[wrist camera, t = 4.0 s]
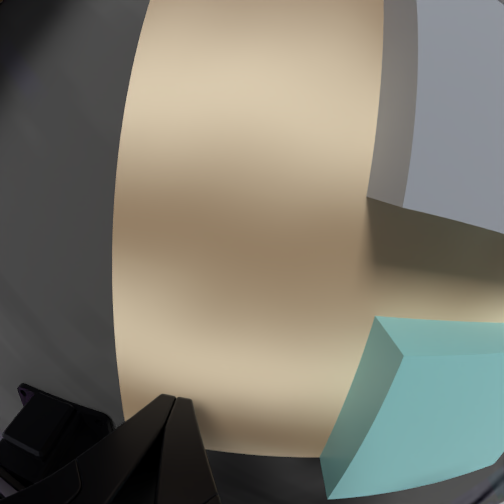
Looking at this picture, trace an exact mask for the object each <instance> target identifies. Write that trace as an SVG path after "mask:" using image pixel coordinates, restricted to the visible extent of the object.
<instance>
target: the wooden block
mask: <svg viewBox="0 0 504 504" xmlns="http://www.w3.org/2000/svg"><path fill="white" fill-rule="evenodd" d="M383 22H384V0H150V3H149V6H148V9H147V13H146V16H145V20H144V23H143V27H142V31H141V34H140V38H139V42H138V46H137V50H136V55H135V59H134V64H133V68H132V73H131V78H130V83H129V88H128V93H127V99H126V105H125V111H124V117H123V124H122V131H121V138H120V146H119V154H118V163H117V173H116V185H115V198H114V215H113V243H112V287H113V314H114V331H115V344H116V356H117V366H118V375H119V383H120V391H121V398H122V405H123V412H124V418H125V421H127V420H128V419H129V418H131V417H132V416H133V415H135V414H136V413H137V412H138V411H140V410H141V409H142V408H144V407H145V406H146V405H147V404H149V403H150V402H151V401H152V400H154V399H155V398H156V397H157V396H159V395H160V394H168V395H173V396H175V397H176V398H177V397H184V398H190V399H192V401H193V405H194V409H195V413H196V417H197V421H198V425H199V428H200V432H201V436H202V440H203V443H204V447H205V449H208V450H215V451H222V452H231V453H240V454H250V455H263V456H279V457H320V455H321V453H322V451H323V449H324V447H325V445H326V443H327V441H328V438H329V436H330V434H331V432H332V430H333V427H334V425H335V423H336V421H337V418H338V416H339V414H340V411H341V409H342V406H343V404H344V402H345V399H346V397H347V394H348V392H349V389H350V387H351V384H352V381H353V379H354V376H355V373H356V371H357V368H358V365H359V363H360V360H361V357H362V354H363V351H364V348H365V345H366V342H367V339H368V336H369V333H370V330H371V327H372V324H373V321H374V317H375V316H383V317H396V318H410V319H425V320H443V321H463V322H492V323H504V234H503V233H499V232H496V231H492V230H489V229H485V228H482V227H478V226H475V225H471V224H467V223H464V222H460V221H456V220H452V219H448V218H444V217H440V216H436V215H432V214H428V213H424V212H420V211H415V210H411V209H407V208H402V207H399V206H396V205H393V204H389V203H386V202H383V201H379V200H376V199H373V198H369V197H366V195H367V190H368V184H369V177H370V171H371V164H372V157H373V150H374V142H375V135H376V126H377V117H378V107H379V97H380V85H381V71H382V53H383Z"/></svg>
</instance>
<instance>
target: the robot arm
mask: <svg viewBox="0 0 504 504" xmlns="http://www.w3.org/2000/svg"><path fill="white" fill-rule="evenodd" d="M17 389H18V393H19V395H20V398H21V401H22V403H23V406H24V407H23V408H22V409H21V411H20V412H19V413H18V414H17V416H16V417H15V418H14V419H13V421H12V422H11V423H10V424H9V426H8V427H7V428H6V429H5V431H4V432H3V434H2V436H3V438H2V440H1V441H0V504H222V502H221V499H220V496H218V491H217V487H216V484H215V481H214V478H213V475H212V471H211V468H210V464H209V461H208V458H207V454H206V451H205V447H204V443H203V440H202V436H201V432H200V428H199V425H198V421H197V417H196V413H195V409H194V405H193V401H192V399H190V398H184V397H177V398H176V397H175V396H173V395H168V394H160V395H159V396H157V397H156V398H155V399H154V400H152V401H151V402H150V403H149V404H147V405H146V406H145V407H144V408H142V409H141V410H140V411H138V412H137V413H136V414H135V415H133V416H132V417H131V418H129V419H128V420H127V421H125V422H124V423H123V424H122V425H120V426H119V427H118V428H116V429H115V430H114V431H112V429H111V424H110V420H109V418H108V417H107V416H106V415H105V414H103V413H101V412H98V411H95V410H92V409H88V408H85V407H83V406H80V405H77V404H74V403H71V402H68V401H66V400H63V399H60V398H58V397H55V396H53V395H50V394H48V393H45V392H43V391H40V390H38V389H36V388H33V387H31V386H29V385H26V384H24V383H22V384H20V385H19V387H18V388H17Z"/></svg>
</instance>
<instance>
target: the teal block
mask: <svg viewBox="0 0 504 504" xmlns="http://www.w3.org/2000/svg"><path fill="white" fill-rule="evenodd" d="M503 452H504V323H492V322H463V321H443V320H425V319H410V318H396V317H383V316H375V317H374V321H373V324H372V327H371V330H370V333H369V336H368V339H367V342H366V345H365V348H364V351H363V354H362V357H361V360H360V363H359V365H358V368H357V371H356V373H355V376H354V379H353V381H352V384H351V387H350V389H349V392H348V394H347V397H346V399H345V402H344V404H343V406H342V409H341V411H340V414H339V416H338V418H337V421H336V423H335V425H334V427H333V430H332V432H331V434H330V436H329V438H328V441H327V443H326V445H325V447H324V449H323V451H322V453H321V455H320V462H321V468H322V473H323V479H324V484H325V490H326V495H327V499H341V498H352V497H361V496H369V495H376V494H383V493H389V492H395V491H400V490H405V489H410V488H415V487H419V486H424V485H428V484H432V483H436V482H440V481H443V480H447V479H450V478H454V477H457V476H460V475H464V474H467V473H470V472H473V471H476V470H478V469H481V468H484V467H487V466H489V465H492V464H494V463H495V462H496V461H497V459H498V458H499V457H500V456H501V454H502V453H503Z"/></svg>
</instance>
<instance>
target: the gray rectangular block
mask: <svg viewBox="0 0 504 504" xmlns="http://www.w3.org/2000/svg"><path fill="white" fill-rule="evenodd" d="M366 197H369V198H373V199H376V200H379V201H383V202H386V203H389V204H393V205H396V206H399V207H402V208H407V209H411V210H415V211H420V212H424V213H428V214H432V215H436V216H440V217H444V218H448V219H452V220H456V221H460V222H464V223H467V224H471V225H475V226H478V227H482V228H485V229H489V230H492V231H496V232H499V233H503V234H504V5H503V4H502V3H501V2H499V1H498V0H384V22H383V53H382V71H381V85H380V97H379V107H378V117H377V126H376V135H375V142H374V150H373V157H372V164H371V171H370V177H369V184H368V190H367V195H366Z"/></svg>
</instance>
